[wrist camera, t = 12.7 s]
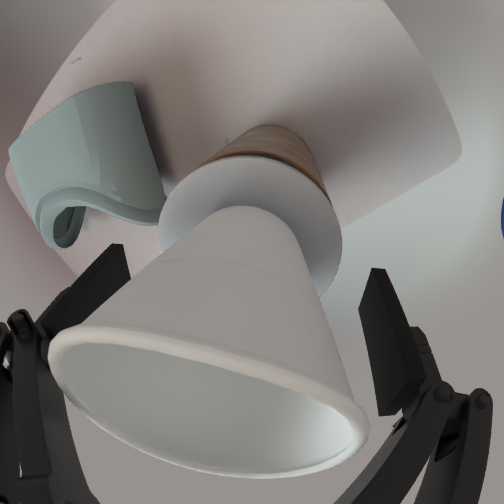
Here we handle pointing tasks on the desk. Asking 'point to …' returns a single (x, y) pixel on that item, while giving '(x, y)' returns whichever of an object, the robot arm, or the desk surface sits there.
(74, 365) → the cup
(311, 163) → the plinth
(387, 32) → the desk surface
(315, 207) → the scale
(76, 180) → the sage-green arched shell
